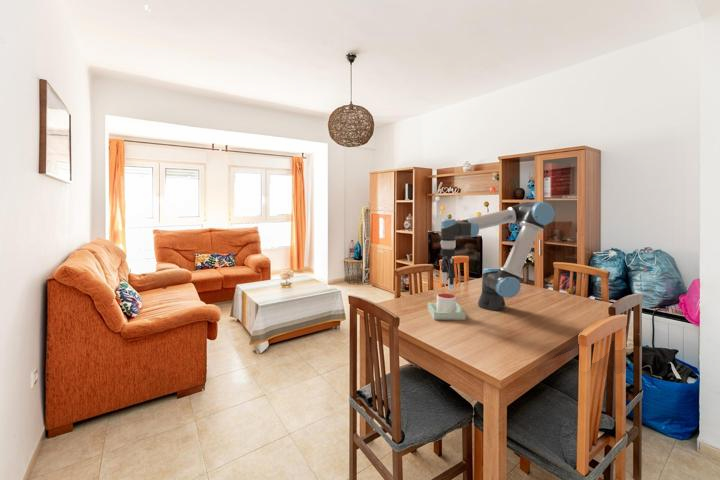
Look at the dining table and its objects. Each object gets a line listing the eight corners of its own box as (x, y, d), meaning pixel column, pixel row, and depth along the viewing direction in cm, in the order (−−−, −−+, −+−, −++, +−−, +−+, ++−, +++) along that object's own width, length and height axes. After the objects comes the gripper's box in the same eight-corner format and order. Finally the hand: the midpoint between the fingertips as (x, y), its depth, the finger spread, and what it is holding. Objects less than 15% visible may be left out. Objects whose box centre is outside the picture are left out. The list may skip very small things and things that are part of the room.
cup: (456, 317, 173) (456, 299, 172) (436, 315, 175) (437, 297, 174) (454, 311, 183) (455, 293, 181) (436, 310, 184) (436, 292, 183)
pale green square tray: (456, 309, 187) (456, 302, 186) (465, 320, 171) (465, 311, 170) (427, 309, 187) (427, 302, 186) (433, 319, 171) (434, 311, 170)
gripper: (435, 245, 187) (435, 281, 189) (447, 251, 162) (446, 293, 165) (448, 244, 187) (448, 281, 189) (462, 251, 162) (461, 293, 165)
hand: (447, 286), depth 177 cm, fingers open, 13 cm apart
